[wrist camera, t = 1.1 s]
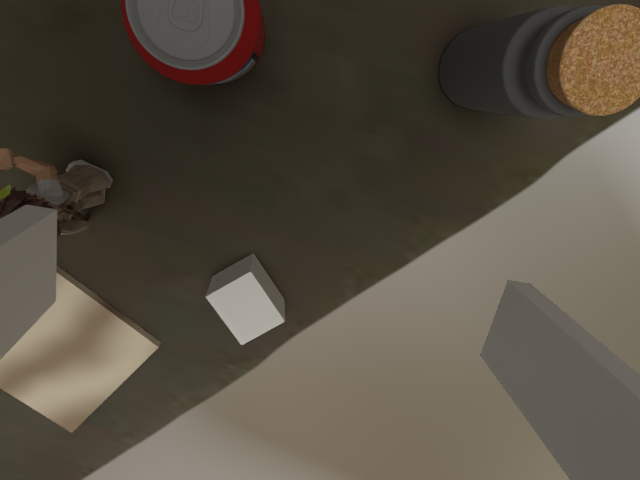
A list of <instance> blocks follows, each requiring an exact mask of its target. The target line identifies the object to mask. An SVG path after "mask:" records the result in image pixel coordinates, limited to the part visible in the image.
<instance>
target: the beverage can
mask: <svg viewBox="0 0 640 480" xmlns="http://www.w3.org/2000/svg"><path fill="white" fill-rule="evenodd" d="M121 10H122V17H123V21H124V25H125V28H126V31H127V34H128V36H129V38H130V40H131V42H132V44H133V46H134V47H135V49H136V50H137V52H138V53H139V54H140V56H141V57H142V58H143V59H144V60H145V61H146V62H147V63H148V64H149V65H150V66H151V67H152V68H153V69H155V70H156V71H157V72H159V73H160V74H162V75H164V76H166V77H167V78H170V79H172V80H175V81H177V82H181V83H185V84H193V85H211V84H222V83H228V82H232V81H235V80H237V79H239V78H241V77H243V76H244V75H246V74H247V73H248V72H249V71H250V70H252V68H253V67H254V66H255V65H256V63H257V62H258V60H259V58H260V56H261V53H262V50H263V47H264V41H265V28H264V21H263V16H262V11H261V7H260V3H259V0H121Z"/></svg>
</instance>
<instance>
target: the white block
mask: <svg viewBox="0 0 640 480" xmlns="http://www.w3.org/2000/svg"><path fill="white" fill-rule="evenodd" d="M206 298H207V300H208V301H209V302H210V304H211V305H212V306H213V308H214V309H215V310H216V312H217V313H218V314H219V316H220V317H221V318H222V320H223V321H224V322H225V324H226V325H227V326H228V328H229V329H230V331H231V332H232V333H233V335H234V336H235V337H236V339H237V340H238V341H239V343H240V344H241V345H243V344H245V343H247V342H249V341H250V340H252V339H254V338H256V337H258V336H260V335H261V334H263V333H265V332H267V331H269V330H270V329H272V328H274V327H276V326H278V325H280V324H281V323H283V322H285V305H284V298H283V297H282V295H281V294H280V292H279V291H278V289H277V288H276V286H275V285H274V283H273V282H272V280H271V279H270V277H269V276H268V274H267V273H266V271H265V270H264V268H263V267H262V265H261V264H260V262H259V261H258V259H257V258H256V256H255V255H254V253H253V254H251V255H249V256H247V257H245V258H244V259H242V260H240V261H238V262H237V263H235V264H233V265H231V266H230V267H228V268H226V269H224V270H223V271H221V272H219V273H217V274H215V275H214V276H212V279H211V282H210V285H209V288H208V291H207V294H206Z"/></svg>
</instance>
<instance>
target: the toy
mask: <svg viewBox="0 0 640 480" xmlns="http://www.w3.org/2000/svg"><path fill="white" fill-rule="evenodd" d="M13 164H15V167H17V168H20V169H22V170H24V171H26V172H28V173H30V174H32V175H34V176H36V181H37V183H32V184H31V185H30V186H29V187H28V188H27V189H26V191H23V190H22V191H16V190H15V188H13V189H12V190H11V191H10V189H11V184H10V185H8V186H6V187H4V188H2V189H1V190H0V219H1V218H3V217H4V216H6V215H8V214H10V213H12V212H14V211H15V210H17V209H19V208H21V207H23V206H25V205H32V206H38V207H44V208H51V209H57V238H58V236H59V235H60V234H65V235H70V234H74V233H78V232H81V231H84V230H87V229H88V228H89V224H88V222H87V221H88V220H87V219H86V218H85V217H84V216H83V215H81V214H80V213H79V211H80V210H83V209H86V208H90V207H94V206H97V205H101V204H104V202H105V189H106V188H110V186H111V184H112V182H113V180H112V178H111V176H110V175H109V173H108V172H107V171H105V170H103V169H101V168H99V167H96V166H94V165H92V164H90V163H88V162H85V161H83V160H77V161H72V162H71V163H70V164H69V165H68V167H67V169H66V170H65V171H66V173H64V174H62V175H60V176H58V177H57V174H56V173H57V172H58V171H57V170H56V168H55V167H54V166H53V165H51V164H47V163H44V162H40V161H37V160H33V159H30V158H26V157H22V156H16V157H14V151H12V150H10V149H3V148H0V169H2V170H9V169H11V168H13ZM74 215H75V216H77V217H80V218H81V219H83V220H81V219H77V218H74V217H73V216H74ZM57 242H58V241H57Z"/></svg>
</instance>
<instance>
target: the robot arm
mask: <svg viewBox="0 0 640 480" xmlns="http://www.w3.org/2000/svg"><path fill="white" fill-rule="evenodd" d="M56 261H57V209H51V208H44V207H38V206H32V205H25V206H23V207H21V208H19V209H17V210H15V211H14V212H12V213H10V214H8V215H6V216H4V217H3V218H1V219H0V360H1V359H2V358H3V357H4V355H5V354H6V353H7V352H8V351H9V350H10V349H11V348H12V347H13V346H14V345H15V344H16V343H17V342H18V341H19V340H20V339H21V337H22V336H23V335H24V334H25V333H26V332H27V331H28V330H29V329H30V328H31V327H32V326H33V325H34V324H35V323H36V322H37V321H38V319H39V318H40V317H41V316H42V315H43V314H44V313H45V312H46V311H47V310H48V309H49V308H50V307H51V306H52V305H53V304H54V303H55V302H56ZM480 356H481V357H482V358H483V360H484V361H485V362H486V364H487V365H488V367H489V368H490V369H491V371H492V372H493V374H494V375H495V376H496V378H497V379H498V380H499V382H500V383H501V384H502V386H503V387H504V389H505V390H506V392H507V393H508V394H509V396H510V397H511V398H512V400H513V401H514V403H515V404H516V405H517V407H518V408H519V410H520V411H521V412H522V413H523V415H524V416H525V418H526V419H527V421H528V422H529V423H530V425H531V426H532V428H533V429H534V430H535V432H536V433H537V434H538V436H539V437H540V438H541V440H542V441H543V443H544V444H545V446H546V447H547V448H548V450H549V451H550V452H551V454H552V455H553V457H554V458H555V459H556V461H557V462H558V464H559V465H560V466H561V468H562V469H563V471H564V472H565V473H566V475H567V476H568V477H569V479H570V480H640V375H639V374H638V373H637V372H636V371H634V370H633V369H632V368H631V367H630V366H629V365H627V364H626V363H625V362H624V361H623V360H621V359H620V358H619V357H618V356H617V355H615V354H614V353H613V352H612V351H611V350H609V349H608V348H607V347H605V345H603V344H602V343H601V342H600V341H599V340H597V339H596V338H595V337H594V336H592V335H591V334H590V333H589V332H588V331H587V330H585V329H584V328H583V327H582V326H580V325H579V324H578V323H577V322H576V321H575V320H573V319H572V318H571V317H570V316H569V315H567V314H566V313H565V312H564V311H562V310H561V309H560V308H559V307H558V306H557V305H555V304H554V303H553V302H552V301H551V300H549V299H548V298H547V297H546V296H545V295H543V294H542V293H541V292H540V291H539V290H537V289H536V288H535V287H534V286H533V285H531V284H529V283H523V282H516V281H509V280H508V282H507V284H506V288H505V290H504V293H503V295H502V298H501V301H500V303H499V306H498V309H497V311H496V314H495V317H494V320H493V322H492V325H491V328H490V330H489V333H488V336H487V338H486V341H485V344H484V346H483V349H482V352H481V355H480Z"/></svg>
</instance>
